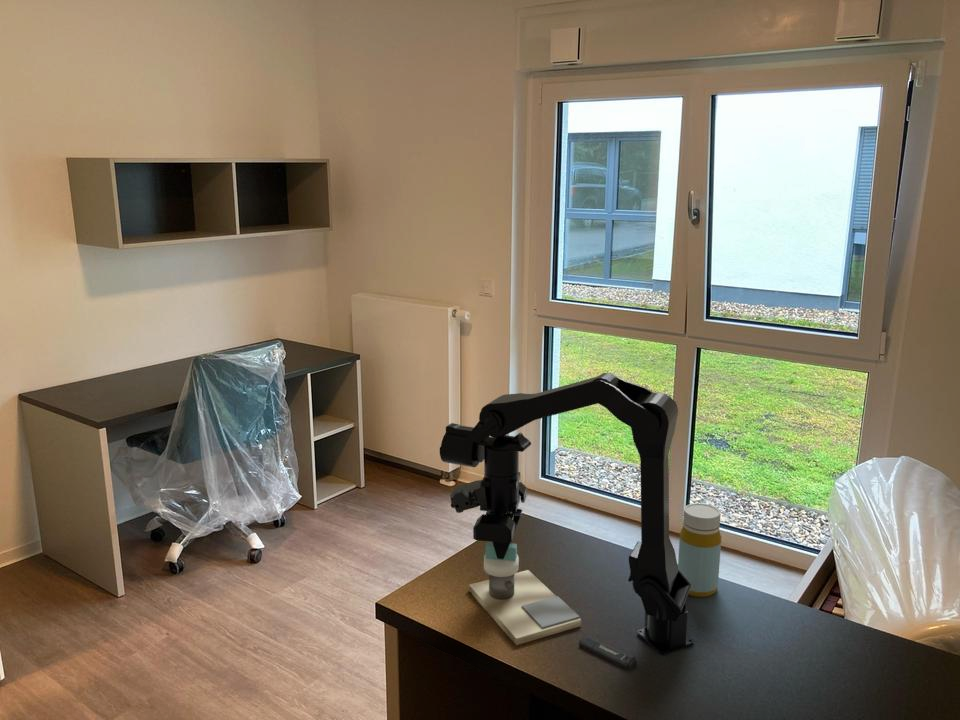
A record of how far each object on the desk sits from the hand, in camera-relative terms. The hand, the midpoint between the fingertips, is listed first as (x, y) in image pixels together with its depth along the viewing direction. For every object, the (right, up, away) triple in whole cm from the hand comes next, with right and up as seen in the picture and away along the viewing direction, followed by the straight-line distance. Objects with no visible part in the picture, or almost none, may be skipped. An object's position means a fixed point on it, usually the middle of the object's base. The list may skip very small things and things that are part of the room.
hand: (501, 555), depth 133 cm
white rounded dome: (0, -2, +1) cm, 2 cm away
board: (+4, -9, -1) cm, 9 cm away
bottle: (+35, -7, +5) cm, 36 cm away
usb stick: (+16, -12, -13) cm, 24 cm away
